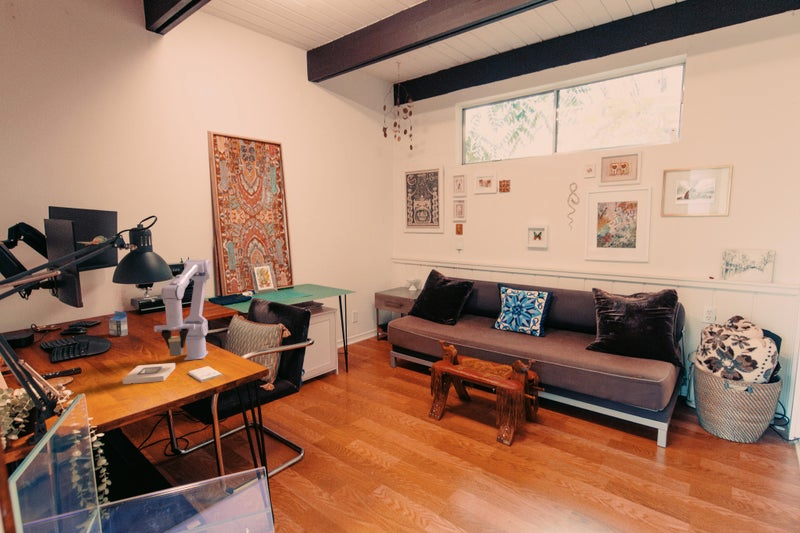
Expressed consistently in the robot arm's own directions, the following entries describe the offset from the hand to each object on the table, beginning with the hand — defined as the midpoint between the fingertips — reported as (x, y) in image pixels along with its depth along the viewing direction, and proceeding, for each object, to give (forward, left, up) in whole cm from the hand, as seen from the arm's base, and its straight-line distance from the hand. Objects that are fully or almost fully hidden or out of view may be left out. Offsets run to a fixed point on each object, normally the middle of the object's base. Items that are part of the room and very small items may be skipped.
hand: (176, 347), depth 164 cm
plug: (0, 0, -3) cm, 3 cm away
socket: (+3, -9, -10) cm, 14 cm away
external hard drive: (+6, +12, -11) cm, 17 cm away
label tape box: (-61, -46, -10) cm, 78 cm away
